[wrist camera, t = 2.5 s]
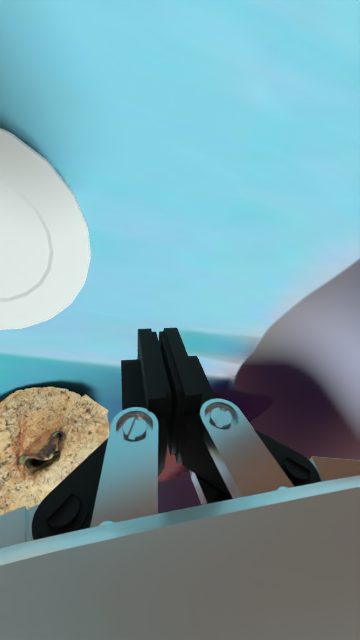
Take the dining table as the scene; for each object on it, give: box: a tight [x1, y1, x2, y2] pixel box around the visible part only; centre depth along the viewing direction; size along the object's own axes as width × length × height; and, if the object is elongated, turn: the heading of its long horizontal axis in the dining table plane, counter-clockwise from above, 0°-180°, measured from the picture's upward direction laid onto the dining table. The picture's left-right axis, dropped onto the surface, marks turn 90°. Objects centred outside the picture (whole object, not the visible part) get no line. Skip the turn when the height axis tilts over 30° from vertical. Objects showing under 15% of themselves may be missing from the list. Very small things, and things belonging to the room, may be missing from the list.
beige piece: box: [0, 387, 111, 515], centre depth 34 cm, size 18×14×8 cm
